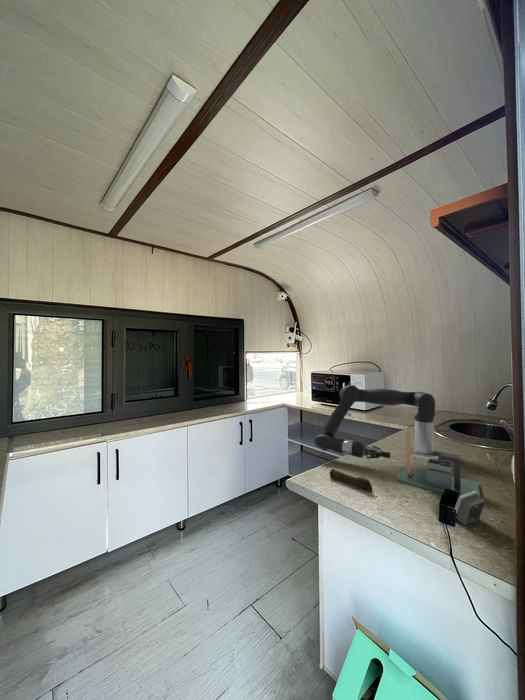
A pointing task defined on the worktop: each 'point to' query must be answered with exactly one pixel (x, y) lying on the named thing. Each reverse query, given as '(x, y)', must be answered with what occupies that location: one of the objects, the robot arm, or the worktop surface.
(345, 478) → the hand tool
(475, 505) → the electrical switch
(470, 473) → the worktop surface
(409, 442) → the upright wooden plank
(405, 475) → the base
